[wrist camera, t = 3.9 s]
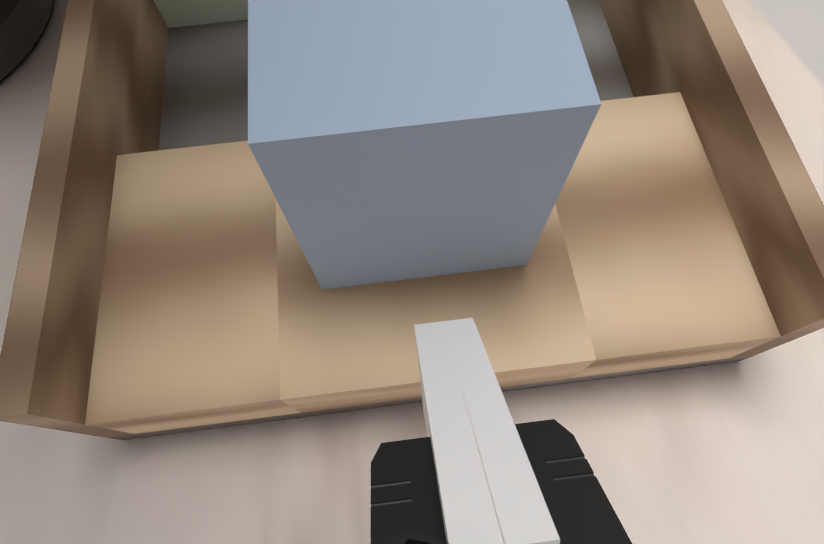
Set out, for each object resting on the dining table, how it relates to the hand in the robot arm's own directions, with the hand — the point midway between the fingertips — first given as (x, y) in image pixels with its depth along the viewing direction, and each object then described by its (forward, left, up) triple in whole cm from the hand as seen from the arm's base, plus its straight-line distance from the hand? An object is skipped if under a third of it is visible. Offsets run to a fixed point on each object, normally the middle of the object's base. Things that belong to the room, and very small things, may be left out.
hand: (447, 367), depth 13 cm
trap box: (-11, +11, -7) cm, 17 cm away
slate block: (-5, +5, -3) cm, 8 cm away
